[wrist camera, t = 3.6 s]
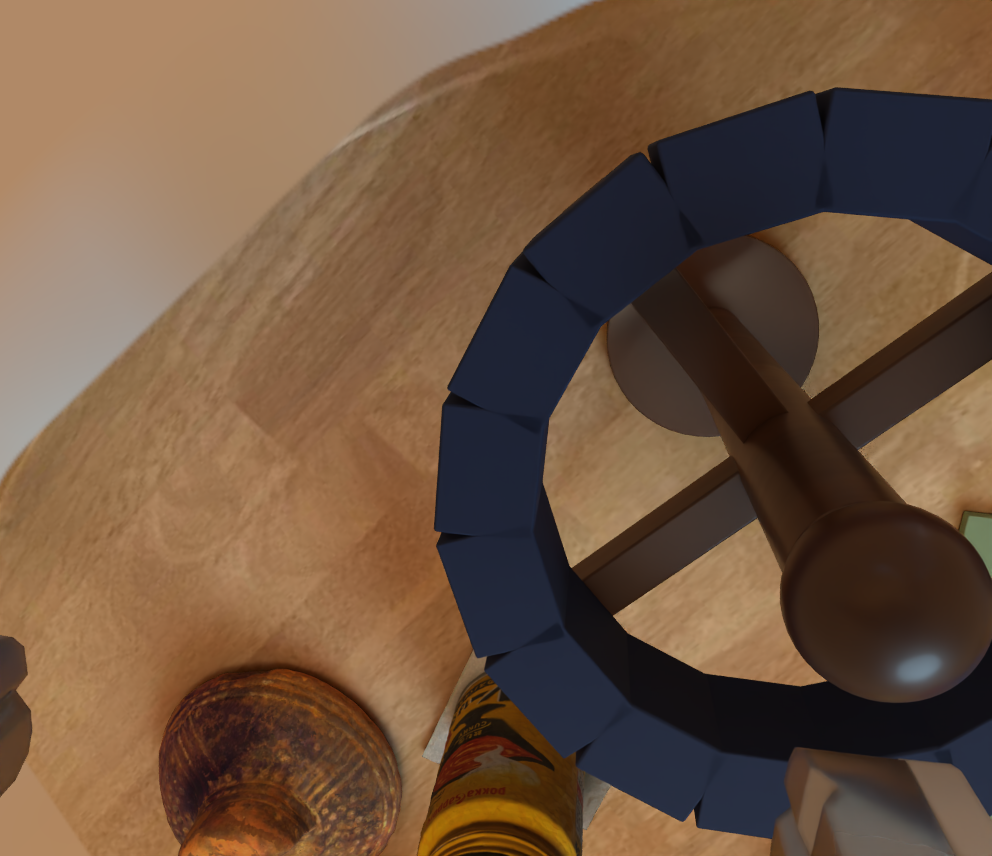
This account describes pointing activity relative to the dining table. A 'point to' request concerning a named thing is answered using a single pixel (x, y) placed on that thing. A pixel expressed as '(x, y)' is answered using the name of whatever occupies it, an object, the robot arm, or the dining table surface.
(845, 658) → the stand
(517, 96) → the dining table surface
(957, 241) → the ring
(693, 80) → the dining table surface
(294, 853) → the bell
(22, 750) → the robot arm
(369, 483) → the dining table surface
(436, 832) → the condiment
